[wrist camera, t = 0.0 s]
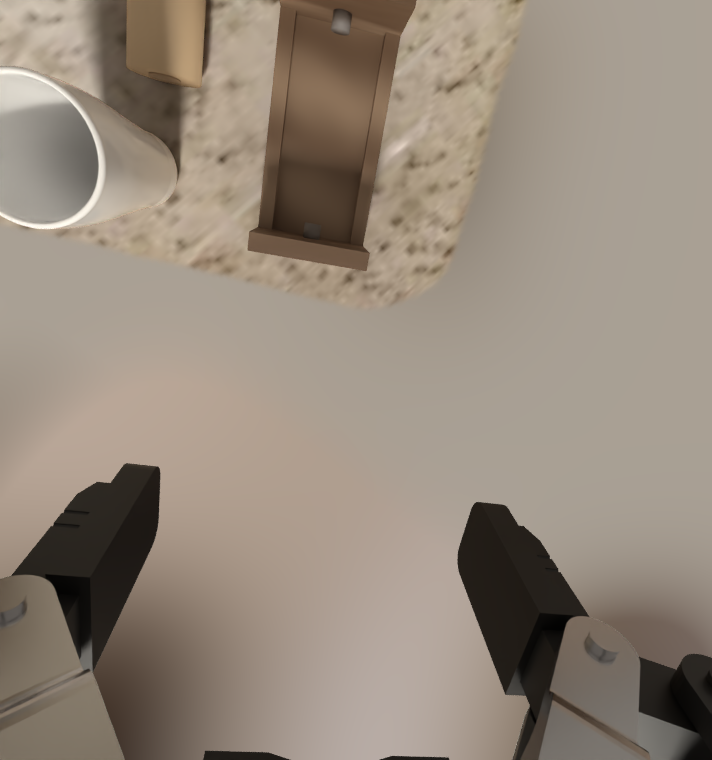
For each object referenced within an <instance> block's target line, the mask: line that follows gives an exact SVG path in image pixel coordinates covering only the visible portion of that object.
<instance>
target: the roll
mask: <svg viewBox="0 0 712 760" xmlns="http://www.w3.org/2000/svg"><path fill="white" fill-rule="evenodd" d="M205 11H206V0H127V42H126V67H127V68H128V69H130V70H131V71H133V72H135V73H138V74H140V75H143V76H146V77H149V78H152V79H155V80H158V81H162V82H166V83H171V84H175V85H180V86H184V87H192V88H199V87H201V83H202V65H203V47H204V29H205Z"/></svg>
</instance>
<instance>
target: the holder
mask: <svg viewBox="0 0 712 760" xmlns="http://www.w3.org/2000/svg"><path fill="white" fill-rule="evenodd" d="M280 5H281V8H280V18H279V28H278V38H277V48H276V58H275V68H274V77H273V87H272V97H271V107H270V117H269V127H268V136H267V146H266V156H265V166H264V176H263V186H262V195H261V205H260V215H259V225H258V227H257V228H255V229H253V230H251V231H250V232H249V241H248V251H254V252H260V253H266V254H271V255H277V256H283V257H289V258H294V259H300V260H306V261H312V262H317V263H323V264H329V265H335V266H340V267H346V268H352V269H358V270H363V271H366V270H367V265H368V259H369V254H370V253H369V252H368V251H367V250H366V249H365V248H364V247H363V242H364V236H365V231H366V225H367V220H368V214H369V208H370V203H371V197H372V192H373V186H374V181H375V175H376V169H377V164H378V158H379V153H380V147H381V141H382V136H383V130H384V125H385V119H386V114H387V108H388V102H389V97H390V91H391V86H392V80H393V75H394V69H395V63H396V58H397V52H398V47H399V41H400V36H401V34H402V32H403V30H404V28H405V26H406V24H407V22H408V20H409V18H410V16H411V15H412V13H413V11H414V9H415V5H416V0H280Z"/></svg>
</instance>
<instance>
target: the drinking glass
mask: <svg viewBox="0 0 712 760" xmlns="http://www.w3.org/2000/svg"><path fill="white" fill-rule="evenodd" d="M176 184H177V166H176V162H175V160H174V157H173V155H172V153H171V151H170V150H169V148H168V147H167V146H166V145H165V143H164V142H163V141H162V140H161V139H159V138H158V137H157V136H155V135H154V134H152V133H150V132H148V131H146V130H143V129H142V128H140V127H139V126H137V125H136V124H134V123H133V122H131V121H130V120H128V119H127V118H125V117H124V116H123V115H121V114H120V113H118V112H117V111H115V110H114V109H113V108H111V107H110V106H108V105H107V104H105V103H104V102H102V101H101V100H99V99H97V98H96V97H94V96H92V95H91V94H89V93H87V92H85V91H83V90H81V89H79V88H77V87H75V86H73V85H71V84H69V83H66V82H64V81H61V80H59V79H56V78H54V77H51V76H48V75H45V74H42V73H39V72H37V71H34V70H31V69H27V68H23V67H17V66H0V216H2V217H4V218H6V219H8V220H10V221H12V222H15V223H17V224H20V225H23V226H26V227H31V228H38V229H66V228H78V227H86V226H92V225H97V224H101V223H104V222H107V221H110V220H114V219H116V218H119V217H122V216H125V215H127V214H130V213H133V212H136V211H139V210H142V209H146V208H153V207H156V206H159V205H161V204H163V203H164V202H165V201H167V200H168V199H169V198H170V196H171V195H172V193H173V192H174V190H175V187H176Z"/></svg>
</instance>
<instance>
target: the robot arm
mask: <svg viewBox="0 0 712 760" xmlns="http://www.w3.org/2000/svg"><path fill="white" fill-rule="evenodd" d="M159 495H160V469H159V467H156V466H147V465H137V464H128V463H126V464H125V465H123V467H122V468H121V469H120V471H119V472H118V474H117V475H116V476H115V478H114V479H113V481H112V482H111V483H103V482H96V483H95V484H93V485H91V486H90V487H88V488H86V489H85V490H83V491H81V492H80V493H78V494H77V495H76V496H75V497H74V499H73V500H72V501H71V502H70V504H69V505H68V506H67V507H66V508H65V510H64V513H62V514H61V515H60V516H59V517H58V518H57V520H56V521H55V522H54V525H53V526H51V527H50V528H49V530H48V531H47V532H46V533H45V534H44V536H43V537H42V538H41V539H40V541H39V542H38V543H37V545H36V546H35V547H34V548H33V549H32V551H31V552H30V553H29V554H28V556H27V557H26V558H25V559H24V561H23V562H22V563H21V564H20V565H19V567H18V568H17V569H16V571H15V572H14V573H13V574H12V576H9V577H5V578H2V579H0V760H124V757H123V754H122V751H121V748H120V746H119V743H118V740H117V738H116V735H115V732H114V729H113V726H112V724H111V721H110V719H109V716H108V713H107V710H106V707H105V704H104V702H103V699H102V697H101V694H100V691H99V688H98V685H97V683H96V680H95V678H94V675H93V674H92V673H93V671H94V669H95V667H96V665H97V662H98V660H99V658H100V656H101V654H102V652H103V650H104V647H105V645H106V643H107V641H108V639H109V637H110V635H111V633H112V631H113V628H114V626H115V624H116V622H117V620H118V618H119V616H120V614H121V611H122V609H123V607H124V605H125V603H126V601H127V598H128V597H129V594H130V592H131V590H132V588H133V586H134V584H135V582H136V580H137V578H138V575H139V573H140V571H141V569H142V567H143V565H144V563H145V560H146V558H147V556H148V554H149V552H150V550H151V548H152V545H153V543H154V540H155V536H156V532H157V528H158V519H159ZM458 569H459V573H460V576H461V579H462V582H463V584H464V587H465V589H466V592H467V595H468V597H469V600H470V602H471V605H472V608H473V611H474V613H475V616H476V618H477V621H478V623H479V626H480V629H481V631H482V634H483V637H484V639H485V642H486V645H487V647H488V650H489V652H490V655H491V658H492V661H493V663H494V666H495V668H496V671H497V674H498V676H499V679H500V682H501V684H502V686H503V690H504V692H505V694H506V695H523V696H526V697H527V700H528V702H529V704H530V706H529V708H528V710H527V712H526V715H525V717H524V721H523V724H522V728H521V731H520V735H519V738H518V741H517V745H516V748H515V752H514V755H513V759H512V760H712V658H710V657H707V656H704V655H699V654H689V655H687V656H685V657H684V658H683V659H682V661H681V663H680V665H679V666H678V668H677V670H675V669H673V668H670V667H667V666H664V665H661V664H658V663H655V662H652V661H649V660H646V659H643V658H640V657H638V655H637V653H636V651H635V649H634V648H633V646H632V645H631V644H630V643H629V642H628V640H627V639H626V638H625V637H624V636H622V635H621V634H620V633H619V632H618V631H617V630H615V629H614V628H612V627H611V626H609V625H607V624H606V623H604V622H601V621H599V620H597V619H594V618H591V617H589V616H588V614H587V612H586V611H585V609H584V608H583V606H582V605H581V604H580V602H579V600H578V599H577V597H576V596H575V594H574V592H573V591H572V590H571V588H570V586H569V585H568V583H567V582H566V580H565V579H564V577H563V576H562V574H561V572H558V568H557V567H556V565H555V563H554V562H553V561H552V559H550V556H549V554H548V553H547V551H546V549H545V548H544V546H543V545H542V543H541V542H540V540H538V539H537V538H536V537H535V536H534V535H533V534H532V533H531V532H529V531H528V530H527V529H526V528H525V527H524V526H518V524H517V522H516V521H515V519H514V518H513V516H512V514H511V513H510V511H509V509H508V508H507V507H506V506H505V505H500V504H491V503H482V502H476V503H475V504H474V505H473V507H472V509H471V512H470V515H469V518H468V521H467V524H466V527H465V531H464V534H463V537H462V540H461V543H460V546H459V550H458ZM203 760H289V759H286V758H283V757H280V756H277V755H274V754H271V753H265V752H264V753H263V752H229V751H205V754H204V759H203ZM380 760H449V758H445V757H409V756H408V757H407V756H391V757H387V758H384V759H380Z"/></svg>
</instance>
